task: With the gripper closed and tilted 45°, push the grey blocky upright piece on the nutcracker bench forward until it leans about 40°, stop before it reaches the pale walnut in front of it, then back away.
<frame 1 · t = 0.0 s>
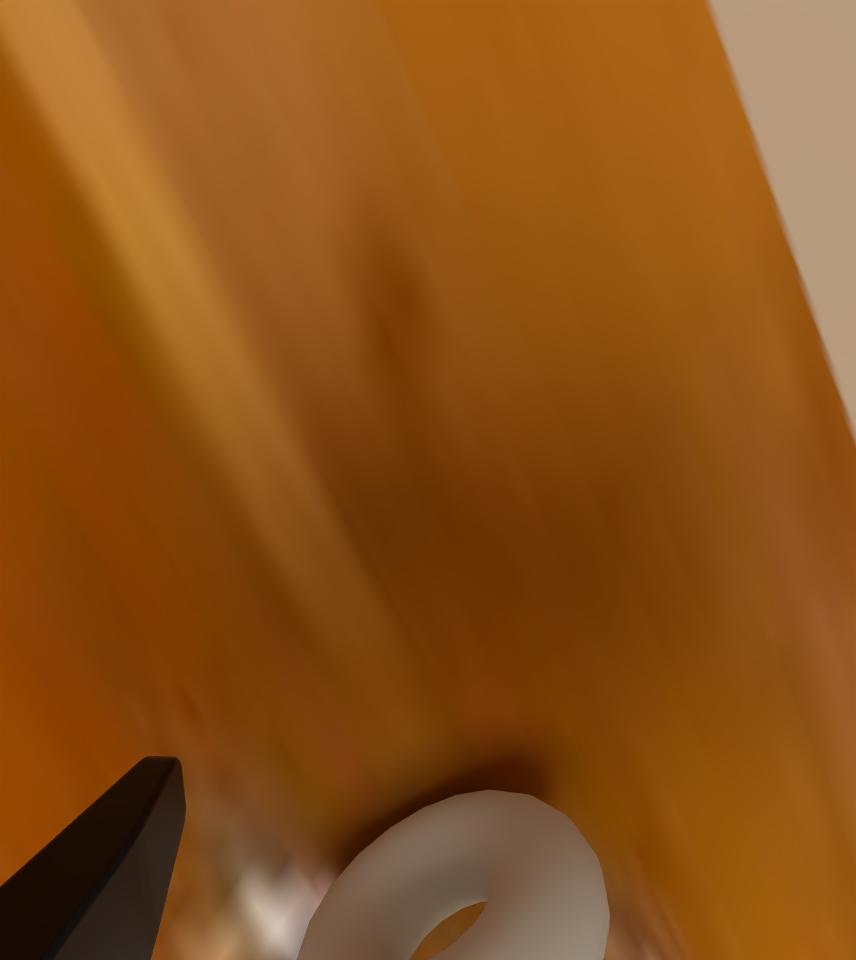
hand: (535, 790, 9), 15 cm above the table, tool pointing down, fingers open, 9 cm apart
donut: (438, 821, 26), on the table
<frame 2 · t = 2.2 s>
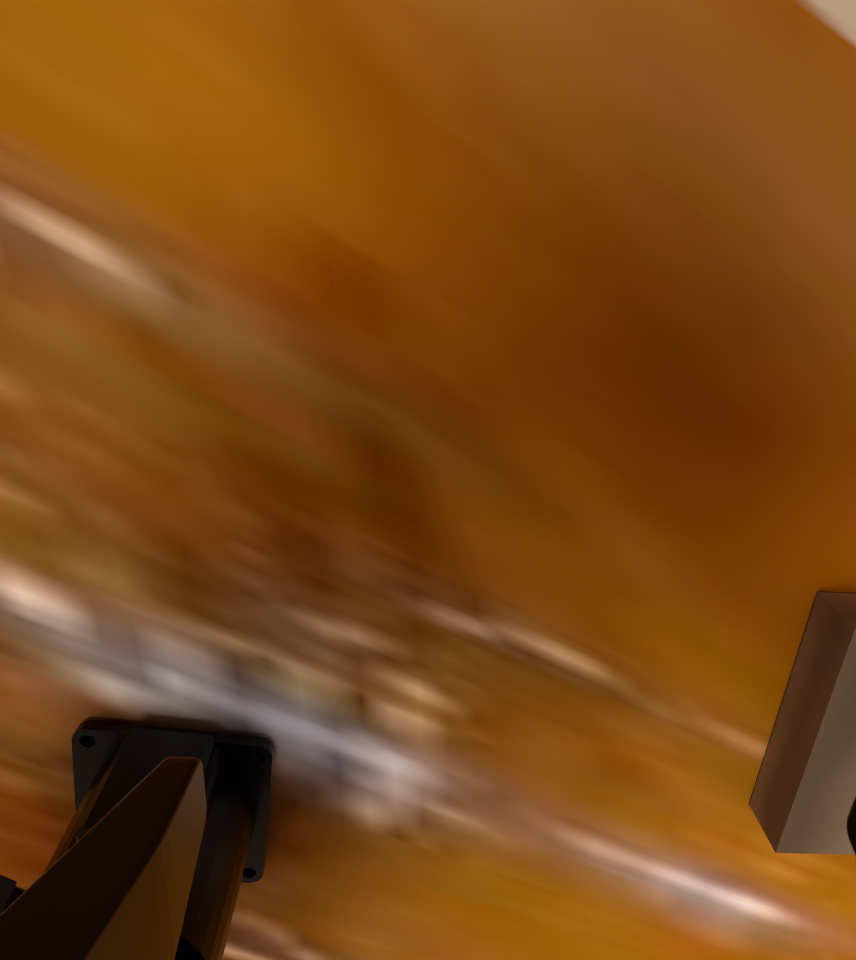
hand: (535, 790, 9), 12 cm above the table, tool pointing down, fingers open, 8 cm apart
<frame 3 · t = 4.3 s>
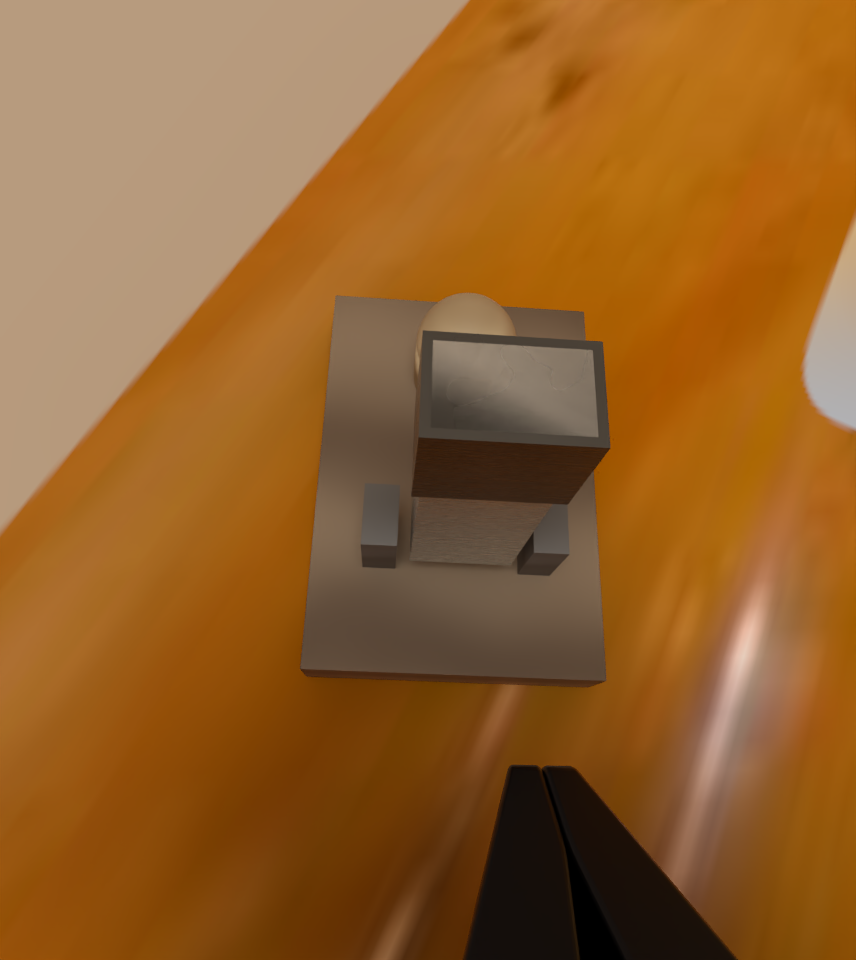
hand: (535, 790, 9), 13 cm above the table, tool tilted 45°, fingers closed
bench: (450, 560, 24), on the table
walnut: (459, 376, 24), point 2 cm above the table, touching bench
grey blocky upright piece: (480, 478, 17), point 8 cm above the table, hinge at 0.0°
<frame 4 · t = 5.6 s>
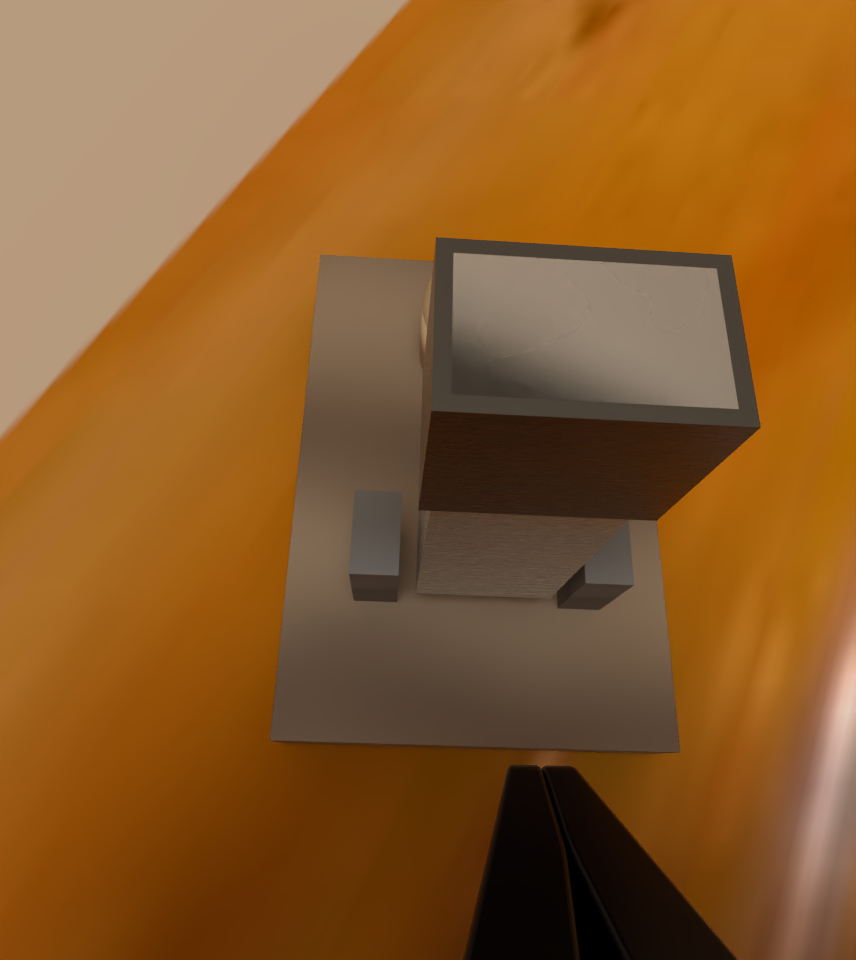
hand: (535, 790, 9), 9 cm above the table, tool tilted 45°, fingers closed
bench: (468, 587, 19), on the table
walnut: (477, 353, 19), point 2 cm above the table, touching bench
grey blocky upright piece: (517, 482, 12), point 8 cm above the table, hinge at 0.0°
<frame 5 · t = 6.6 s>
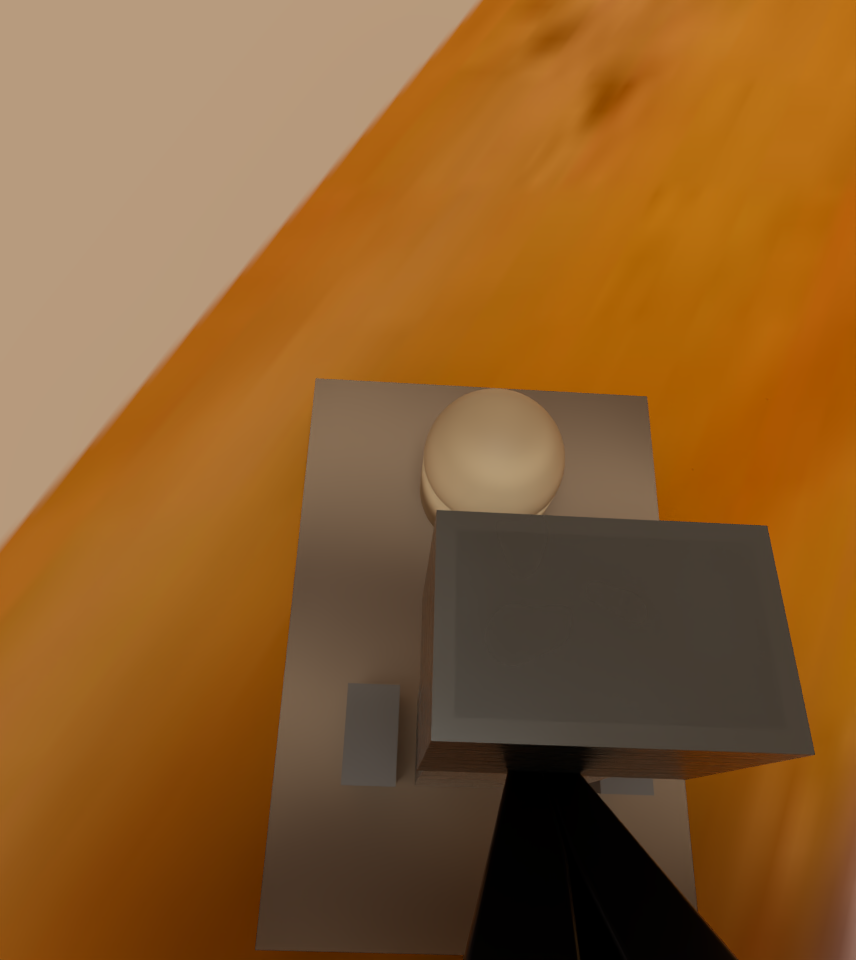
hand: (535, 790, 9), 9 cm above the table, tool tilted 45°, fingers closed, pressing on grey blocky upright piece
bench: (471, 745, 17), on the table
walnut: (482, 490, 18), point 2 cm above the table, touching bench
grey blocky upright piece: (527, 704, 11), point 7 cm above the table, hinge at 4.9°, touching gripper
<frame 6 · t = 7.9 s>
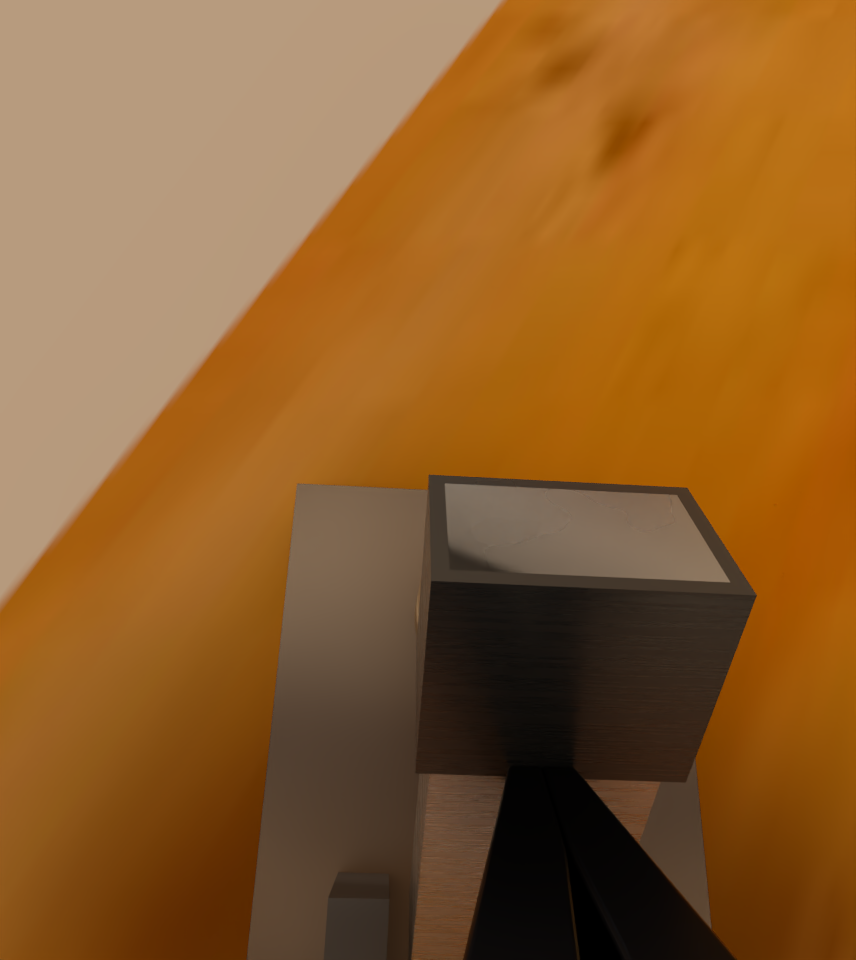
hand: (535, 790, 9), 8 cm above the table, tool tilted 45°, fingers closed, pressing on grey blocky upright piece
bench: (472, 907, 15), on the table
grey blocky upright piece: (524, 779, 10), point 6 cm above the table, hinge at 39.2°, touching gripper
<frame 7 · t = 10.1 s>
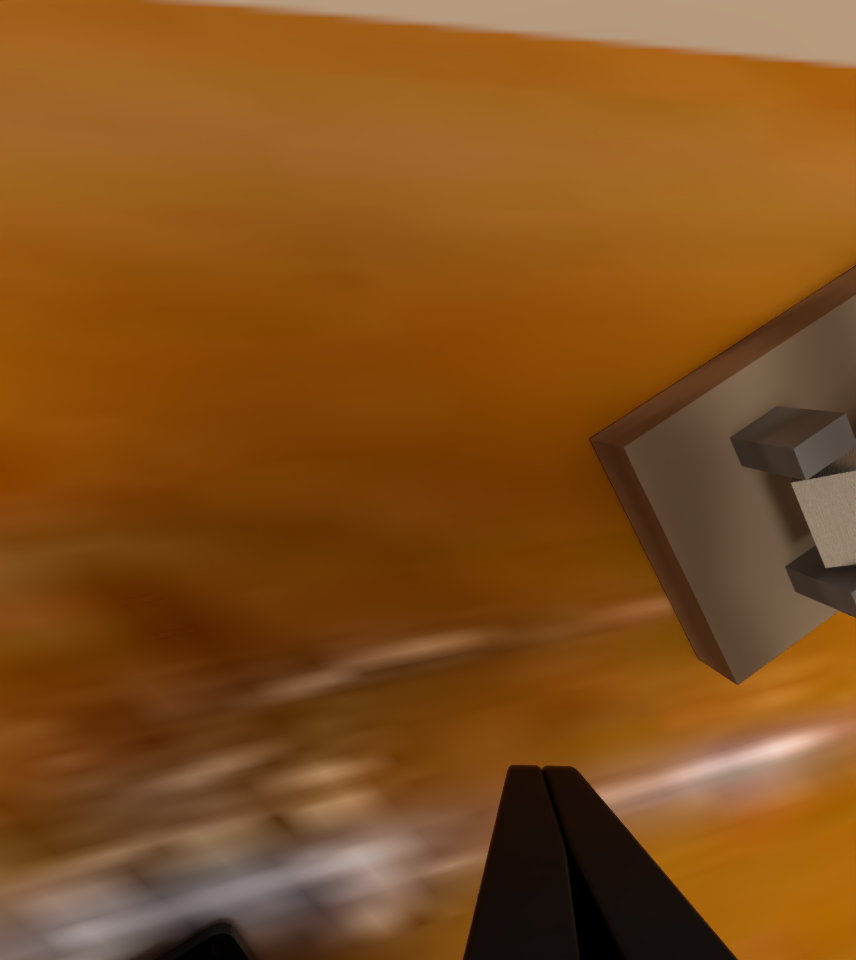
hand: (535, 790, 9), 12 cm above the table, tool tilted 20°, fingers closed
bench: (741, 490, 24), on the table
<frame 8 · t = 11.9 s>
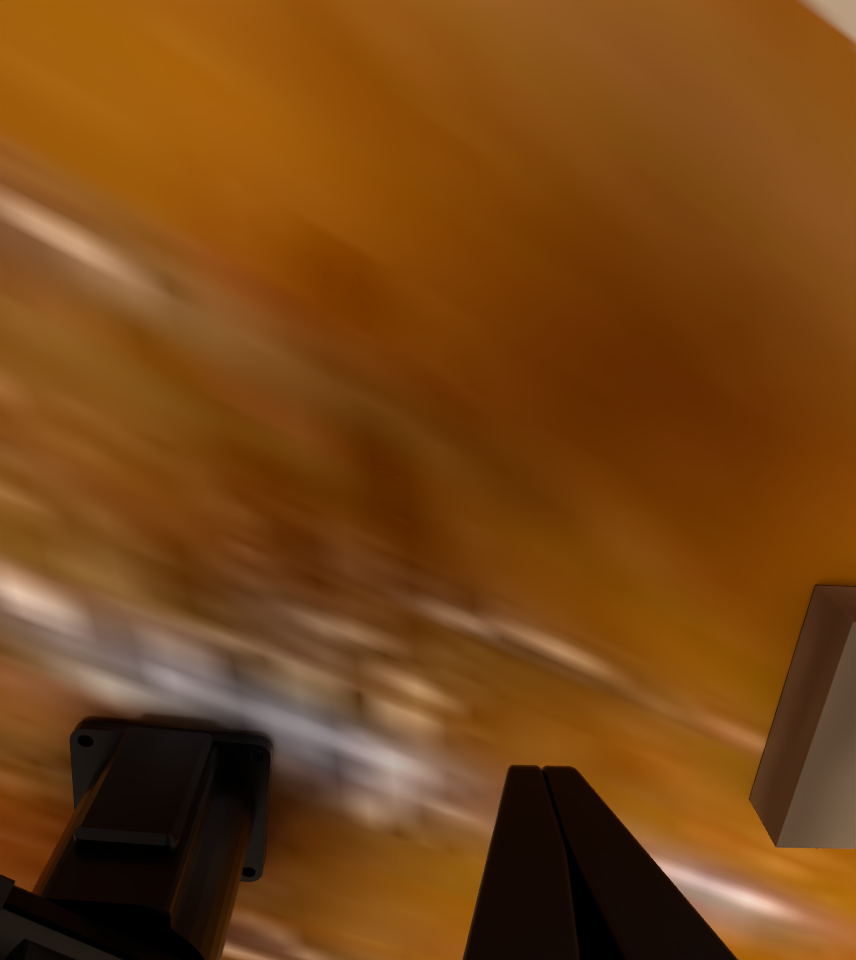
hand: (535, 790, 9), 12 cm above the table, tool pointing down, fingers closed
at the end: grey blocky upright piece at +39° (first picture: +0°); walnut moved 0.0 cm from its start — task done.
